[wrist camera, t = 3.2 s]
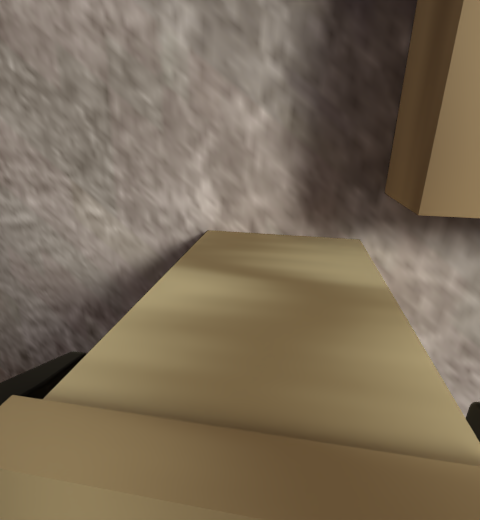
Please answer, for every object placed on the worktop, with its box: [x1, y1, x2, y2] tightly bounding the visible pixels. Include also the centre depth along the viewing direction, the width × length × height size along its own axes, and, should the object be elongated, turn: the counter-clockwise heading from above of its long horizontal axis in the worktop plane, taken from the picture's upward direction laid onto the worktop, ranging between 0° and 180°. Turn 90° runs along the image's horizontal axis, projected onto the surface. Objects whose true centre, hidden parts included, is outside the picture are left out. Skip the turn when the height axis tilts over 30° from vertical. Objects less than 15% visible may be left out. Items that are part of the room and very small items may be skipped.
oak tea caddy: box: [0, 230, 480, 520], centre depth 8 cm, size 5×5×9 cm
